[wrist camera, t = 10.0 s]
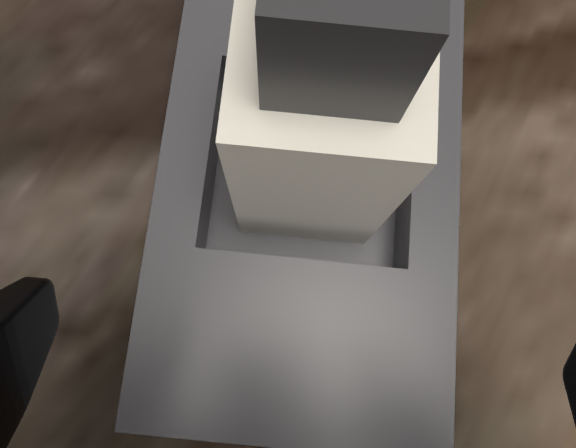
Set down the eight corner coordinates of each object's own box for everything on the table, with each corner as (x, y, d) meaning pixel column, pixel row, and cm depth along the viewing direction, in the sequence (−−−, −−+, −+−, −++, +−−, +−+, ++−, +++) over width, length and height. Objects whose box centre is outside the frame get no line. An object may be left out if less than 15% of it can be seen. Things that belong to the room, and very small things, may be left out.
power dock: (422, 445, 20) (459, 470, 16) (140, 417, 20) (108, 435, 16) (439, -3, 25) (471, -69, 21) (208, -27, 25) (196, -99, 21)
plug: (364, 243, 21) (504, 89, 8) (240, 232, 21) (192, 59, 8) (371, 128, 22) (502, -161, 9) (253, 117, 22) (228, -190, 9)
